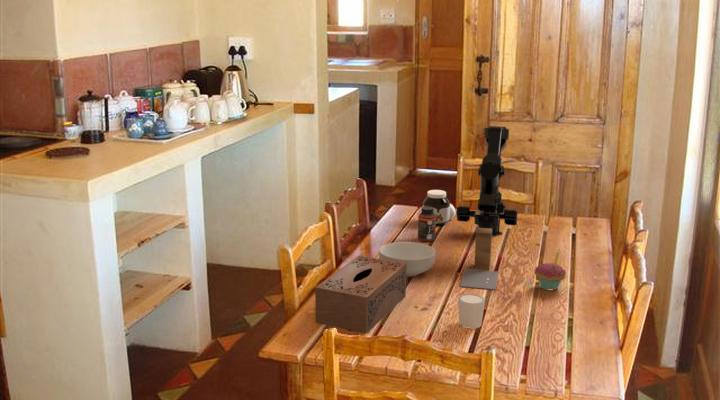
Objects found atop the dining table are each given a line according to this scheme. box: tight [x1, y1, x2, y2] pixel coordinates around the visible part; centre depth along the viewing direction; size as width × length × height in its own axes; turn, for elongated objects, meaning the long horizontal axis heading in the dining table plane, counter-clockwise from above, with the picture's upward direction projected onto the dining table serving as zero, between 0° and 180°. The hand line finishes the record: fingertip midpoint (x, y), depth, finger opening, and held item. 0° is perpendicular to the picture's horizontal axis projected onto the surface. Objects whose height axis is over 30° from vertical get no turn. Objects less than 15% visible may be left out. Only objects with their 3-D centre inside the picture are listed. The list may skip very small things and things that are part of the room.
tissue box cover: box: [314, 255, 407, 334], centre depth 197 cm, size 26×14×10 cm, turn 155°
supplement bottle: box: [417, 206, 437, 243], centre depth 252 cm, size 6×6×11 cm
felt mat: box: [460, 268, 499, 291], centre depth 219 cm, size 14×10×1 cm
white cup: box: [457, 293, 486, 330], centre depth 189 cm, size 7×7×7 cm
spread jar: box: [421, 189, 457, 227], centre depth 271 cm, size 12×11×12 cm
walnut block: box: [473, 227, 493, 271], centre depth 227 cm, size 4×4×12 cm
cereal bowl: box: [378, 241, 437, 278], centre depth 224 cm, size 17×17×7 cm
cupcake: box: [534, 249, 567, 290], centre depth 212 cm, size 9×8×12 cm
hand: (484, 239), depth 230 cm, fingers closed
